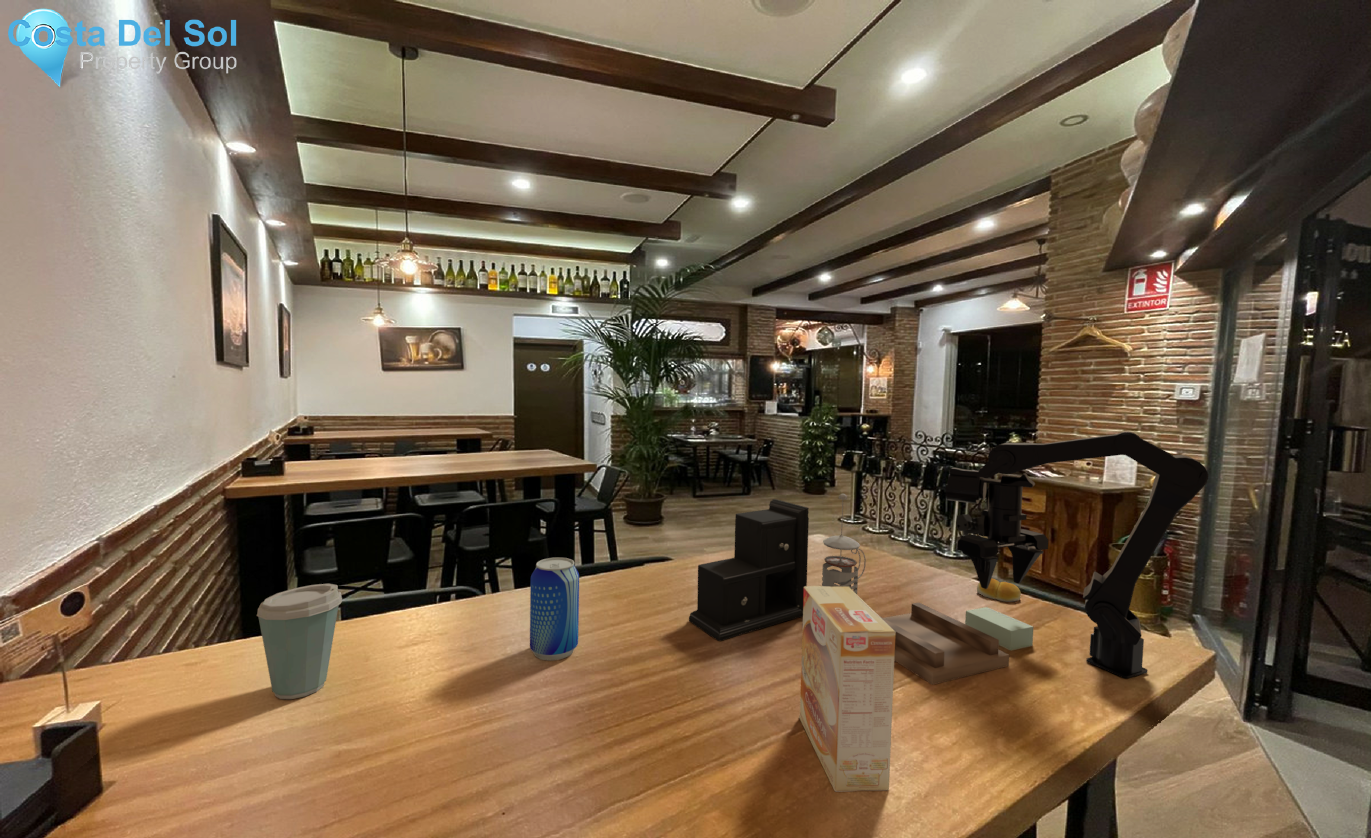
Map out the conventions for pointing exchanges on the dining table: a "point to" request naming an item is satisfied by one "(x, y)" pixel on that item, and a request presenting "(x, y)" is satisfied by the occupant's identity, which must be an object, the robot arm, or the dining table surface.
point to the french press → (841, 561)
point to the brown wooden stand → (942, 646)
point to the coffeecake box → (847, 687)
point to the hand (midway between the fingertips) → (1000, 585)
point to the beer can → (554, 609)
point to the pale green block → (1001, 627)
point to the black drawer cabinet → (756, 574)
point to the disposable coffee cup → (299, 637)
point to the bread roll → (1000, 591)
